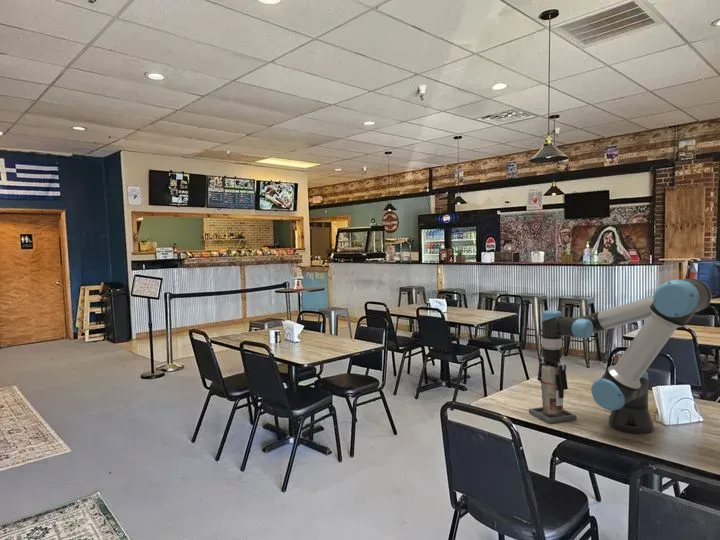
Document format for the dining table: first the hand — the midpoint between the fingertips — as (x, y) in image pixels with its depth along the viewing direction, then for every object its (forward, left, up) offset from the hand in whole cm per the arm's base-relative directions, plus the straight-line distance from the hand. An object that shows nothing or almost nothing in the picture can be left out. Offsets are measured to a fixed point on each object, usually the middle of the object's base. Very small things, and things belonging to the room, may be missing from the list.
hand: (552, 402), depth 193 cm
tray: (0, 0, -6) cm, 6 cm away
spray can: (0, 0, -4) cm, 4 cm away
